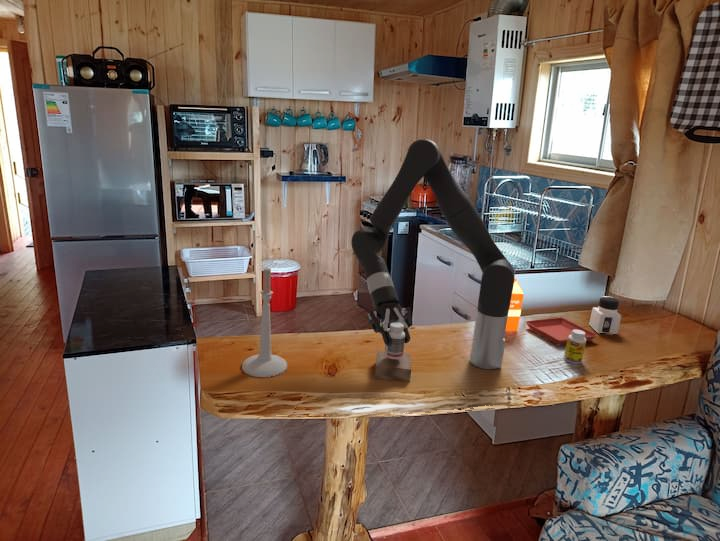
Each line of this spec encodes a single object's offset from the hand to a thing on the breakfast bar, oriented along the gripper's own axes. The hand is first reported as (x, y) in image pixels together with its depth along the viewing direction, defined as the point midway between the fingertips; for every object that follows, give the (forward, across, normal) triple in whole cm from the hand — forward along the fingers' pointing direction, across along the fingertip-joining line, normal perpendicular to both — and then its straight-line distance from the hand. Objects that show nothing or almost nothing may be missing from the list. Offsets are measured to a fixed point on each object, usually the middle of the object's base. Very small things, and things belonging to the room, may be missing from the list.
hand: (398, 343), depth 151 cm
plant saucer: (+3, +73, +12) cm, 74 cm away
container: (+4, +94, +11) cm, 95 cm away
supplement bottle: (+15, +61, 0) cm, 63 cm away
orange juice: (-6, +58, +21) cm, 61 cm away
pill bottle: (+2, 0, +5) cm, 5 cm away
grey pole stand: (-4, -34, +19) cm, 39 cm away
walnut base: (+6, 0, +8) cm, 10 cm away
